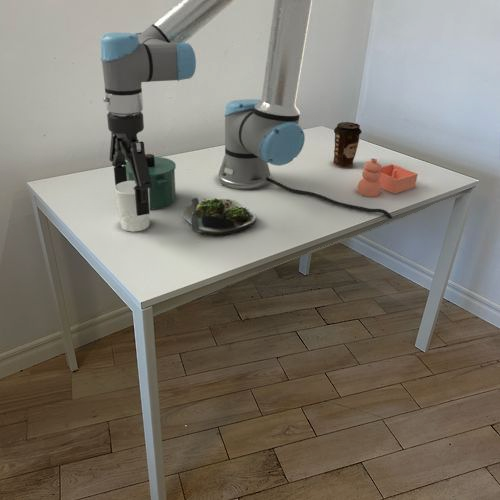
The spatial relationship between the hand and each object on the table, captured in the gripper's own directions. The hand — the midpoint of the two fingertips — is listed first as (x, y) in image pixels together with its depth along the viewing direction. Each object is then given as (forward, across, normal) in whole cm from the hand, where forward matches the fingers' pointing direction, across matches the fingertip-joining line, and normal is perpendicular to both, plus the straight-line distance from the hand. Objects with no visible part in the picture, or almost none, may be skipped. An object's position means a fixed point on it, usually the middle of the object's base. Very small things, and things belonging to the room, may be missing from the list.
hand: (132, 203), depth 118 cm
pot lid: (-3, -12, +10) cm, 16 cm away
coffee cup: (+5, -8, +74) cm, 75 cm away
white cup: (+6, 0, 0) cm, 6 cm away
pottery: (+5, +12, +71) cm, 72 cm away
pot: (+6, -12, +10) cm, 17 cm away
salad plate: (+6, +8, +19) cm, 21 cm away
